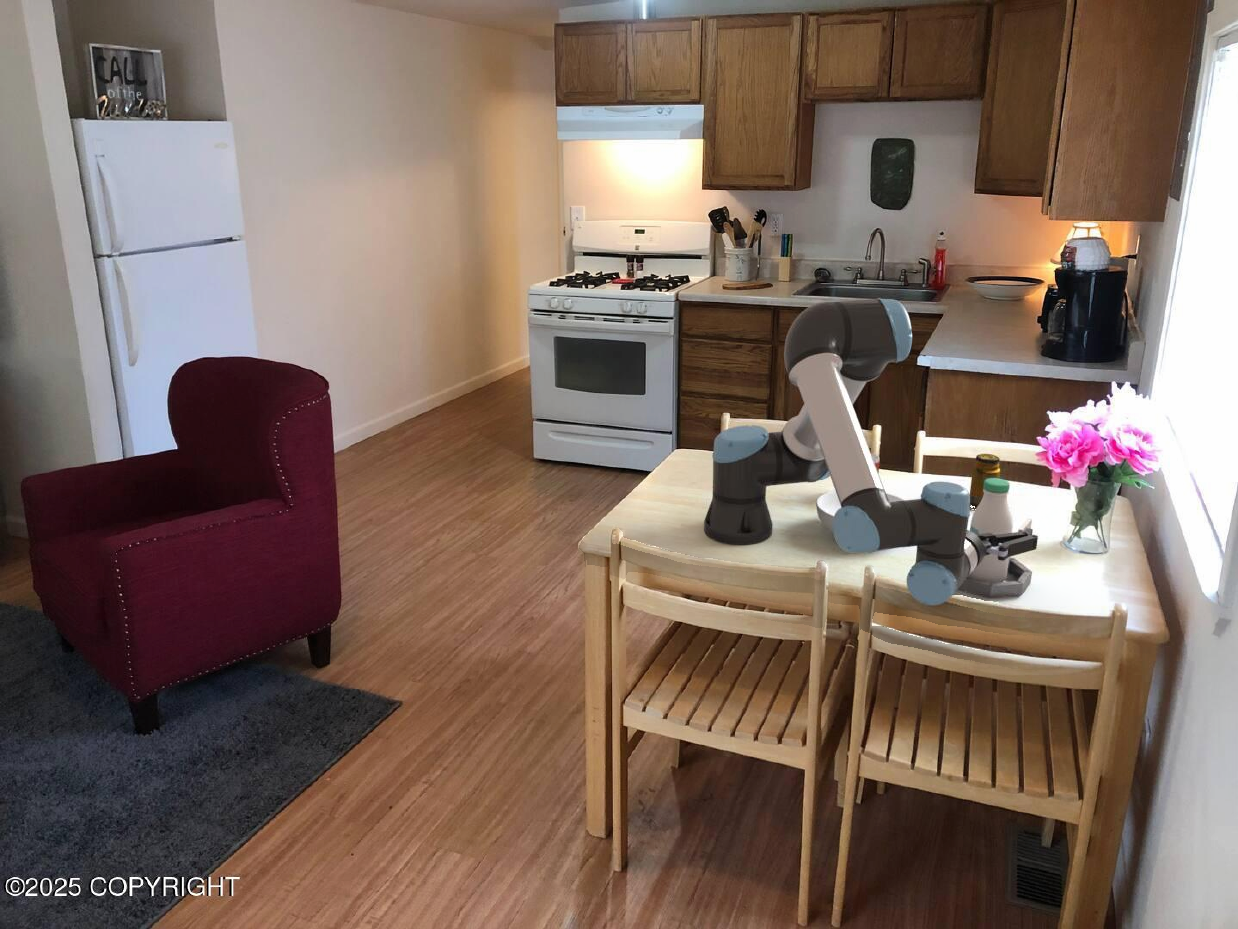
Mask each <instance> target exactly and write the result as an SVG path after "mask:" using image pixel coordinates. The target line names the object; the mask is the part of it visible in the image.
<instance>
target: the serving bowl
mask: <svg viewBox="0 0 1238 929" xmlns="http://www.w3.org/2000/svg"><path fill="white" fill-rule="evenodd" d="M886 495H887V497H888V499H889V501H890V502H896V501H905V500H906V499H903V498H901V497H899V496H896V495H894V494H891V493H887V492H886ZM815 507H816V508H815V509H816V513H817V516H818V519H819V521H820V522H821V524H822V525H823V526H824V527H825V528H826V529H827V530H828V531H830V532H831V533H832V534H834V528H833V519H834V515H835V513H836V511H837V510H838V509H840V508H842V507H841V504H840V502H839V499H838V496H837V493H836V490H831V491H829V492H825V493H824V494H821V495H819V497H817V499H816V501H815Z"/></svg>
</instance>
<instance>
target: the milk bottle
mask: <svg viewBox="0 0 1238 929" xmlns="http://www.w3.org/2000/svg"><path fill="white" fill-rule="evenodd" d="M1010 487H1011V484H1010V481H1008V480H1006V479H1003V478H999V479H998V478H989V479H986V480H985V481H984V489H983V491H984V496H983V498H982V500H981V502H980V504H979V505H978V507H977V508H976V510H974V512H973V514H972V517H971V522H970V528H969V531H971V532H973V533H980V534H984V533H992V534H994V535H997V534H1006V533H1013V526H1014V525H1013V522H1014V520H1013V515H1012V513H1011V510H1010V506H1009V504H1008V495H1009V491H1010ZM987 540H988V539H987ZM1008 562H1009V557H1008V558H1007V559H1005V560H1004V561H1001V560H998V556H997V555H995V554H991V553H990V554H989V555H986V556H984V558H983V560H982V561H981V562H980V564H979V565H978V566H977V567H976V568H975V569H974V570H973V571H972V573H971V574H970V575H969V576H968V578H972V579H976V580H980V581H984V582H988V583H999V582H1003V581H1004V580H1005V579H1006V576H1007V570H1008Z"/></svg>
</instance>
